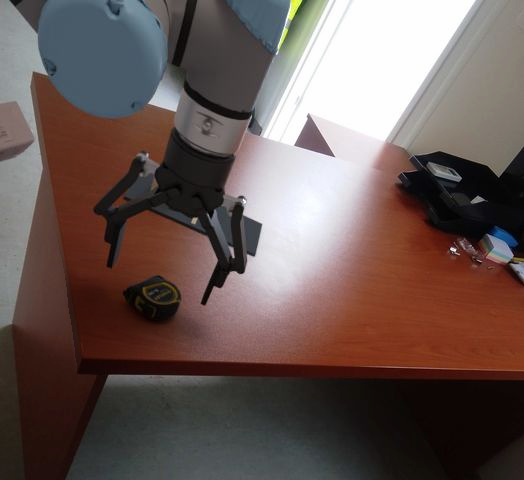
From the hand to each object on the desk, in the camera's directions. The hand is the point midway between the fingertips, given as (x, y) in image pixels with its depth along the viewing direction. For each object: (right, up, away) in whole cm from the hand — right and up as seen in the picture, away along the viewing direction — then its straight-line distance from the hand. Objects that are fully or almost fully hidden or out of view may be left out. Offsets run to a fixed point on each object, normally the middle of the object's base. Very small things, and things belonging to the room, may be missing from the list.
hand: (159, 281), depth 64 cm
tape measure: (-2, -3, +3) cm, 5 cm away
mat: (+2, +17, +25) cm, 30 cm away
